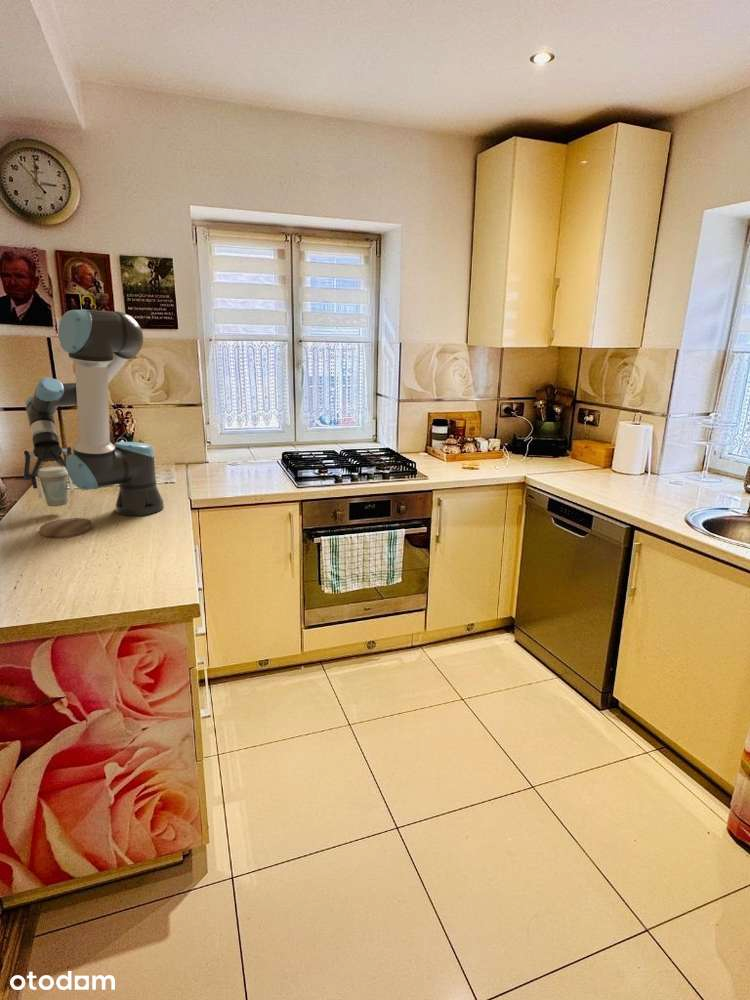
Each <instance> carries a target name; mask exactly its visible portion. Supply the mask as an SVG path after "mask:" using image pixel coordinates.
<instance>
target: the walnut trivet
mask: <svg viewBox="0 0 750 1000" xmlns="http://www.w3.org/2000/svg"><path fill="white" fill-rule="evenodd" d="M92 529H93V522H92V520H90V519H88V518H84V517H72V518H71V517H70V518H61V519H56V520H53V521H52V520H51V521H49V522H47V523H44V524H42V525H41V526H39V533H40V535H41V536H42V537H45V538H48V539H51V538H52V539H65V538H72V537H76V535H77V536H80V535H83V533H84V534H85V533H88V532H90V531H92ZM89 530H90V531H89Z"/></svg>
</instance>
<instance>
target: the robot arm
mask: <svg viewBox="0 0 750 1000" xmlns="http://www.w3.org/2000/svg"><path fill="white" fill-rule="evenodd" d="M57 330H58V331H57V334H58V341H59V342H60V343H59V344H60V346H61V348H62V349H63V351H64V352H67V353H68V358H69V359H70V360H71V361H72V362H73V363H74V369H75V370H74V371H75V382H68V383H65V382H61V381H60V380H58V379H57V378H52V377H50V376H49V377H43V378H42V379H40V380H39V382H38V383H37V385H36V387H35V389H34V394H33V396H31V397H29V398H27V399H26V401H25V411H26V414H27V421H28V423H29V429H30V434H31V435H30V436H31V438H32V445H33V450H30V451H28V450H24V451H23V455H24V458H25V459H24V461H25V462H24V469H23V478H24V480H25V481H28V480H29V481H31V485H32V489H33V490H35V489H37V495H38V499H42V498H43V497H42V496H43V494H42V489H41V483H40V478H39V476H38V473H39V469H41V468H42V466H43V465H44V463H48V462H56V463H57V464H58V465H59V466H63V467H65V468H66V470H67V472H68V474H67V481H68V484H69V490H70V492H71V495H74V494H75V487H77V489H79V490H82V491H89V490H98V489H102V488H106V487H110V486H115V485H119V488H118V489H119V490H118V495H117V498H116V502H115V512H116V513H117V514H119V515H121V516H128V515H130V516H129V517H131V516H134V517H135V516H136V515H137V516H144V515H145V516H147V515H151V513H152V514H155V512H156V513H159V512H161V511H162V510H164V508H165V507H164V505H165V504H164V500H163V497H162V495H161V493H160V490H159V489H158V486H157V477H156V465H155V464H156V463H155V453H154V449H153V446H152V445H151V444H149V443H144V442H137V441H118V442H115V443H114V444H113V443H112V442H111V441H110V438H111V437H110V408H109V407H110V405H109V404H110V402H109V401H110V400H109V384H110V382H112V380H113V379H114V378H115V376H116V375H117V374H118V373H119V372H120V371H121V369H122V368H123V367H124V365H125V364H126V363H127V362H128V360H132V359H134V358H136V356H137V355H138V354H139V353H140V351H141V350H142V346H143V345H144V344H143V343H144V334H143V329H142V327H141V326H140V324H139V323H138V321H136V320H135V318H133V317H132V316H131V315H130V314H127V313H125V312H122V311H114V310H113V311H112V310H111V311H109V310H108V311H107V310H93V309H84V308H82V309H71V310H68V311H66V312H65V313H63V315H62V317H61V318H60V320H59V324H58V329H57ZM69 406H76V408H77V409H76V413H77V430H78V431H77V432H78V433H77V434H78V441H77V442H76V443H75V444H73V453H72V448H71V447H70V446H68V447H66V448H62V446H61V444H60V440H59V436H58V431H57V427H56V422H55V417H54V415H55V413H56V411H57V409H58V407H69ZM62 454H64V455H65V456H66V459H64V458H63V457H62V456H61V455H62ZM33 456H34V457H36V458H37V461H36V462H35V465H34V467H33V470H32V472H31V474H30V471H31V469H30V468H31V459H32V458H33ZM74 485H75V487H74ZM146 514H147V515H146ZM137 516H136V517H137Z"/></svg>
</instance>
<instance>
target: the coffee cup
mask: <svg viewBox="0 0 750 1000" xmlns="http://www.w3.org/2000/svg"><path fill="white" fill-rule="evenodd" d="M37 477H38V479H39V483H40V486H41V488H42V491H43V495H44V498H45V499H44V500H45V501H46V505H47V506H48V507H61V506H65V505H67V504H68V501H69V500H68V472H67V470H66V468H65V467H63V466H60V465H51V466H44V467H41V469H39V473H38V476H37Z"/></svg>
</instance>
